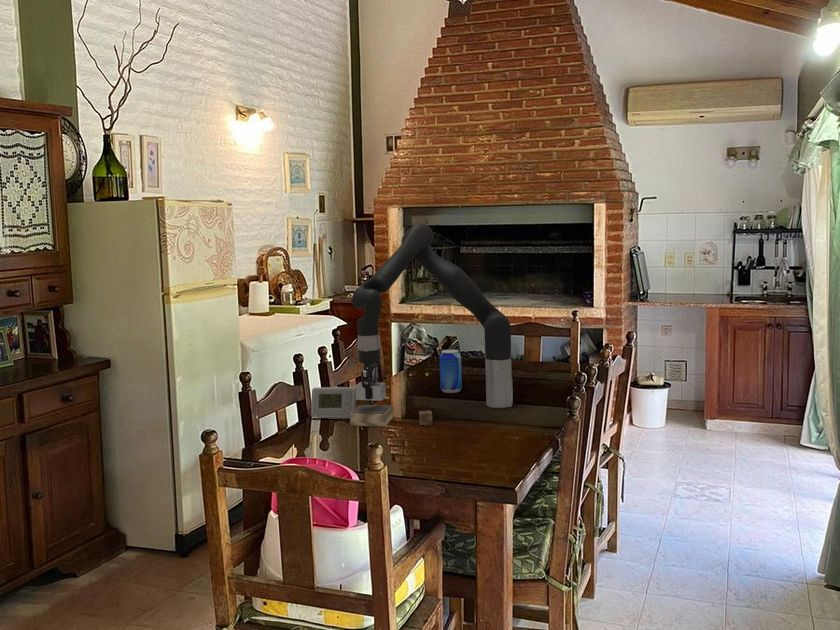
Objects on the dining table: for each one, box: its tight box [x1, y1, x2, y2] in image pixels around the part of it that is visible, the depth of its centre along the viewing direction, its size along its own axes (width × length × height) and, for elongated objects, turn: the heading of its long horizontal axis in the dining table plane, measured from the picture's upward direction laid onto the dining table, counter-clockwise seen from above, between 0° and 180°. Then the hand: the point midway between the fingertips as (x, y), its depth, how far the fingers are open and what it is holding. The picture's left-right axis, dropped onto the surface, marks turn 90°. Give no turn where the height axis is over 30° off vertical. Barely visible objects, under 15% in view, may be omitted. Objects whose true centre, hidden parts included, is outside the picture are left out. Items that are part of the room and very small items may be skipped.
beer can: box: [439, 349, 463, 394], centre depth 305 cm, size 8×8×16 cm
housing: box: [354, 381, 387, 401], centre depth 264 cm, size 5×9×6 cm, turn 74°
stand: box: [349, 404, 394, 427], centre depth 265 cm, size 12×12×4 cm
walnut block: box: [418, 410, 433, 426], centre depth 259 cm, size 4×4×4 cm
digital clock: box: [310, 386, 357, 420], centre depth 271 cm, size 16×9×11 cm, turn 71°
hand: (371, 396), depth 264 cm, fingers closed on housing, 5 cm apart
